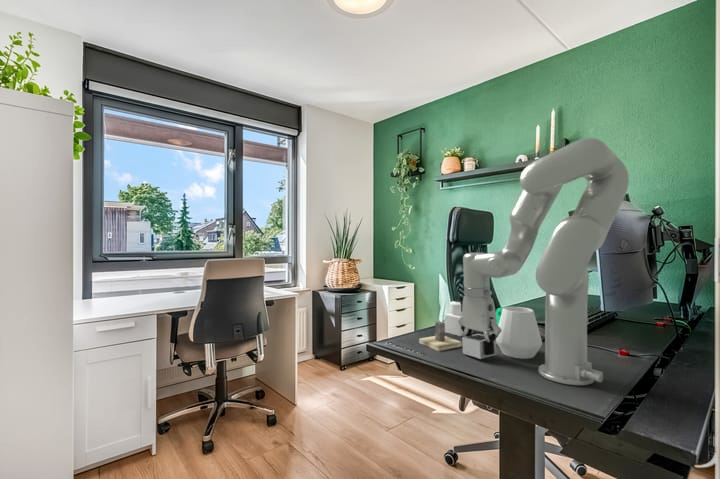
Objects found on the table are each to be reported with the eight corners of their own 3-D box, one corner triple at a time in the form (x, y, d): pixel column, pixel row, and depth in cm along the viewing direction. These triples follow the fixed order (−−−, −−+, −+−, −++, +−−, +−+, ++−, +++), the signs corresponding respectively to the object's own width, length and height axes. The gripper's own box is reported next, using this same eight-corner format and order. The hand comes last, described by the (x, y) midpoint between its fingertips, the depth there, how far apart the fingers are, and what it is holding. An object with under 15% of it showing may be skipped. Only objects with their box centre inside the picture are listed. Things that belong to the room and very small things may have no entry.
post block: (461, 346, 118) (461, 324, 118) (438, 351, 113) (438, 327, 113) (441, 338, 127) (441, 318, 127) (419, 343, 122) (419, 321, 122)
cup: (551, 361, 104) (551, 313, 104) (505, 361, 104) (505, 314, 104) (529, 346, 117) (529, 305, 117) (488, 347, 117) (488, 305, 117)
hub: (497, 354, 107) (496, 338, 107) (480, 359, 103) (479, 341, 103) (479, 349, 113) (478, 333, 113) (462, 353, 109) (462, 336, 110)
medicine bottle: (455, 329, 140) (455, 299, 140) (471, 333, 134) (471, 301, 134) (444, 332, 135) (444, 301, 135) (460, 336, 130) (460, 304, 130)
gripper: (509, 294, 103) (512, 356, 102) (465, 289, 118) (467, 343, 118) (491, 297, 99) (494, 361, 99) (448, 291, 114) (450, 346, 114)
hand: (479, 350), depth 108 cm, fingers closed on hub, 7 cm apart
